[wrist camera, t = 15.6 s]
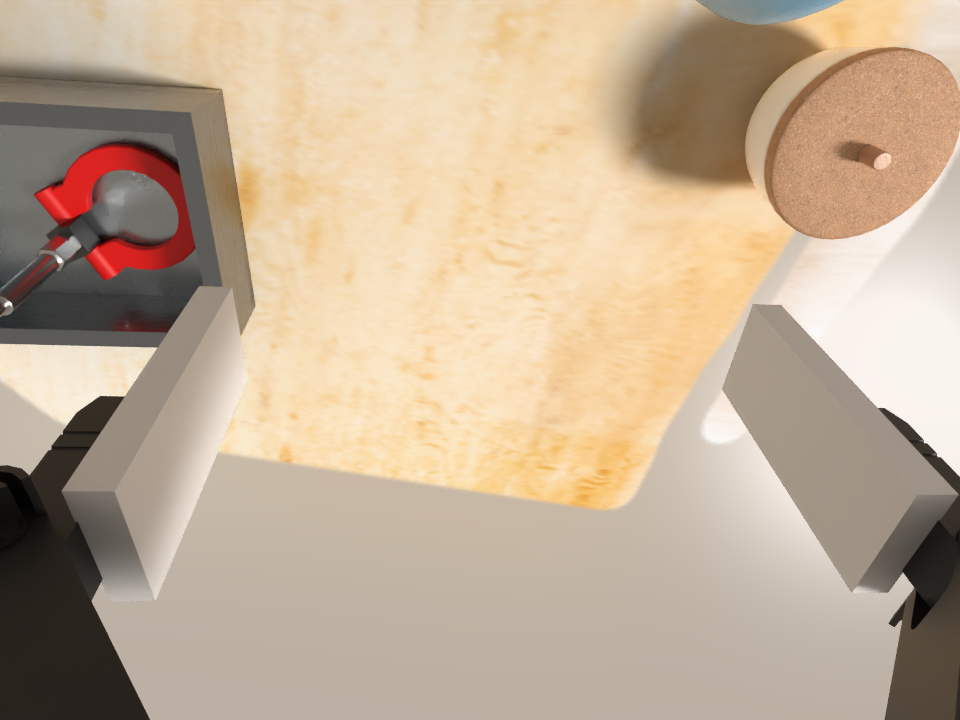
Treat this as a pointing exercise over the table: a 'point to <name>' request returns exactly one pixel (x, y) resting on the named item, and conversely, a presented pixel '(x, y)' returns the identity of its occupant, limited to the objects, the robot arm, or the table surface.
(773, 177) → the lidded jar
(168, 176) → the tow hook
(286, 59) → the table surface
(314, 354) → the table surface
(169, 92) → the grey open box
